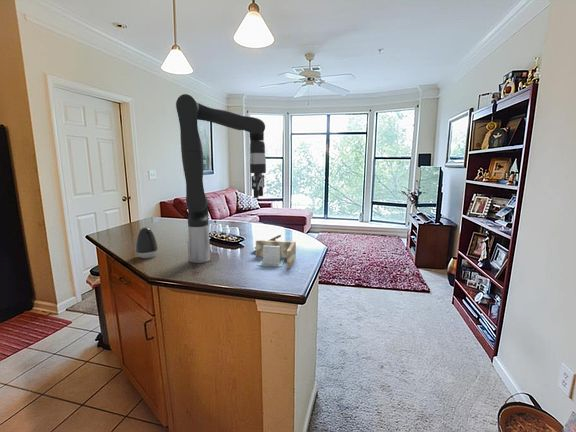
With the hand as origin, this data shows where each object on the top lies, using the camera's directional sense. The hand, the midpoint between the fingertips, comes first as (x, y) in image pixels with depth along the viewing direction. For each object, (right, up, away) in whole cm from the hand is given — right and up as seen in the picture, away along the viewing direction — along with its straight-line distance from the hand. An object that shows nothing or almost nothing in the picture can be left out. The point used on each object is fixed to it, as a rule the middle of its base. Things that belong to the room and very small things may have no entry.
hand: (258, 197), depth 141 cm
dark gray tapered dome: (-57, -30, +5) cm, 64 cm away
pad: (+6, -31, -5) cm, 32 cm away
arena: (+7, -31, -3) cm, 32 cm away
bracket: (+7, -31, -7) cm, 33 cm away
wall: (+3, -28, +18) cm, 33 cm away
